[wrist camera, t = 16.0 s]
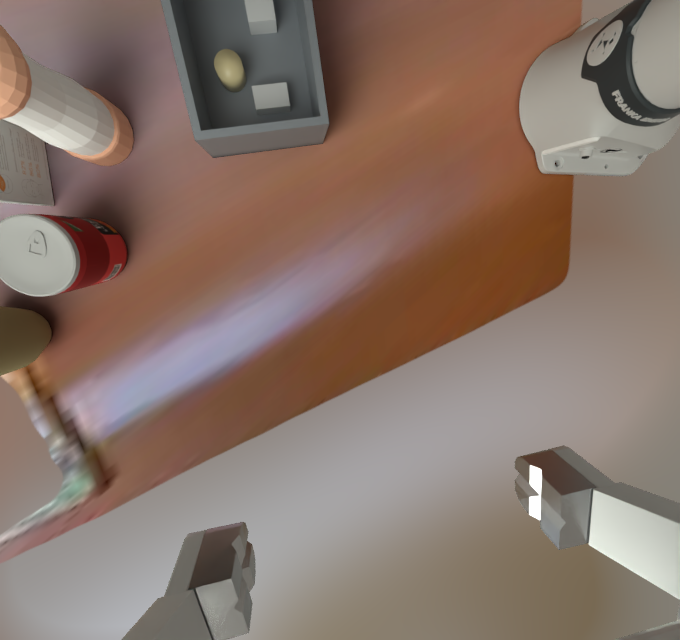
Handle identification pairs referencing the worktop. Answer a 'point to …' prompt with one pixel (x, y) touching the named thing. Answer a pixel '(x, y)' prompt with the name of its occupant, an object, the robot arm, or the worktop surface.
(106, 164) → the pepper shaker
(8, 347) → the squeeze bottle
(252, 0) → the tub
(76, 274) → the canned food
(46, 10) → the worktop surface
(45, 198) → the small box
